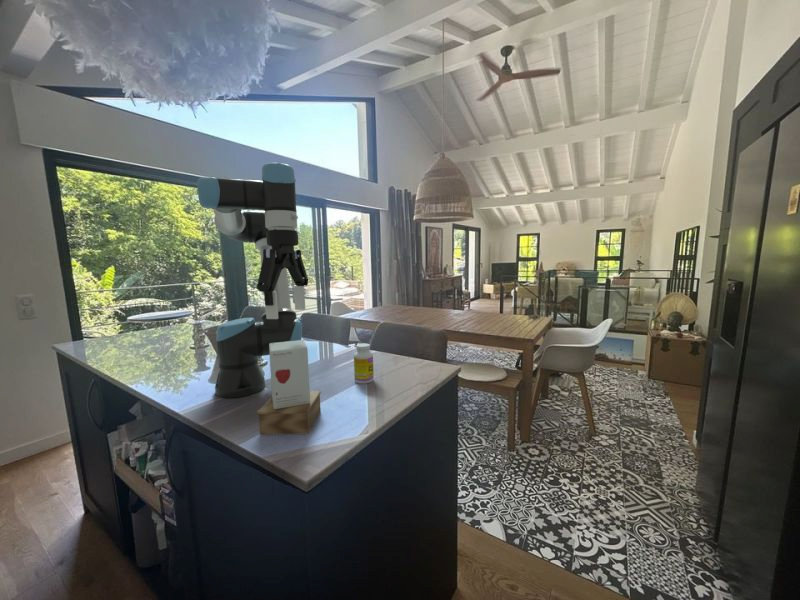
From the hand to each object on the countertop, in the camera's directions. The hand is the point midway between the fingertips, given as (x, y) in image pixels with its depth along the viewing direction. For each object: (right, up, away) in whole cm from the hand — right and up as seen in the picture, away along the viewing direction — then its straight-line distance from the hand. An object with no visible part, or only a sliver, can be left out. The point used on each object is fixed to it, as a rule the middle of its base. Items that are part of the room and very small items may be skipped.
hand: (287, 314), depth 87 cm
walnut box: (+1, -29, +2) cm, 29 cm away
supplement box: (0, -23, +2) cm, 23 cm away
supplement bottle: (+16, -25, +31) cm, 43 cm away
